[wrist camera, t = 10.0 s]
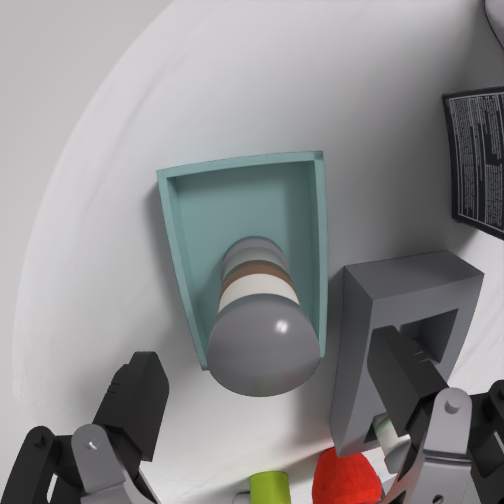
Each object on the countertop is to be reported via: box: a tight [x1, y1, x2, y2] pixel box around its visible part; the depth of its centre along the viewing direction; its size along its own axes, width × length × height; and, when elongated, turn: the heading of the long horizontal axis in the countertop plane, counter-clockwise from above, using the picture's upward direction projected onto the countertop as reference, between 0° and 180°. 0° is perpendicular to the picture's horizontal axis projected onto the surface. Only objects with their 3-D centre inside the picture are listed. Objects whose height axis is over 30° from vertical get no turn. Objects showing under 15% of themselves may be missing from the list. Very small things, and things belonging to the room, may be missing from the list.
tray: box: [156, 151, 328, 371], centre depth 17 cm, size 14×9×2 cm, turn 6°
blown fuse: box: [207, 236, 320, 397], centre depth 14 cm, size 4×4×9 cm
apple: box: [312, 447, 382, 504], centre depth 23 cm, size 9×9×11 cm
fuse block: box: [329, 250, 484, 474], centre depth 17 cm, size 20×10×10 cm, turn 6°
